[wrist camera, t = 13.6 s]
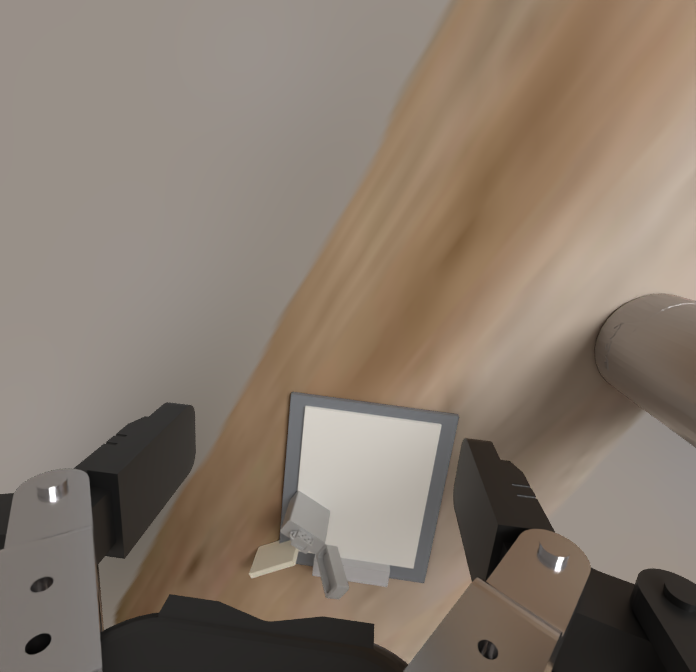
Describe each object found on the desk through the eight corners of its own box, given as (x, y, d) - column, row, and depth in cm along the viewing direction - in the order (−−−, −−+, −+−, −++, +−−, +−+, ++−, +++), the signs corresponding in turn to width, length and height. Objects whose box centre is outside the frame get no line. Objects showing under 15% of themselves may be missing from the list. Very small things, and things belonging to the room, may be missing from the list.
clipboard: (458, 414, 40) (461, 422, 38) (423, 579, 45) (425, 592, 44) (292, 391, 40) (288, 399, 39) (278, 557, 46) (275, 569, 44)
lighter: (288, 501, 43) (269, 563, 35) (298, 490, 42) (280, 550, 35) (344, 537, 44) (337, 606, 36) (354, 527, 43) (349, 594, 36)
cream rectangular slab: (299, 534, 45) (292, 560, 42) (301, 538, 45) (295, 565, 42) (258, 546, 46) (248, 573, 42) (261, 551, 46) (251, 578, 43)
